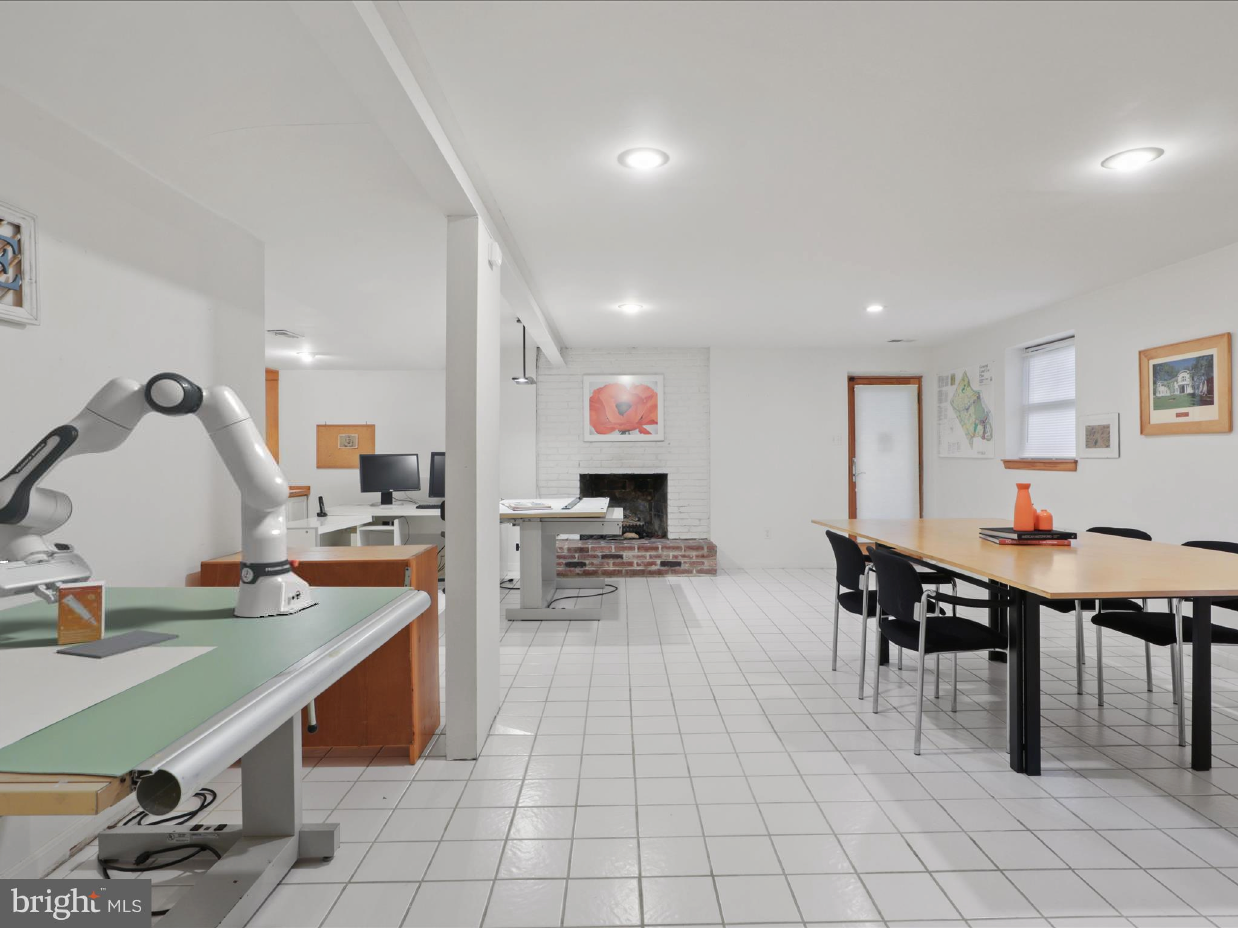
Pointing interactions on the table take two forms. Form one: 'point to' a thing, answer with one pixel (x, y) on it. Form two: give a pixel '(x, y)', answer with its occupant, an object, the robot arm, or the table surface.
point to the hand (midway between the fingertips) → (57, 601)
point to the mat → (117, 644)
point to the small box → (81, 612)
